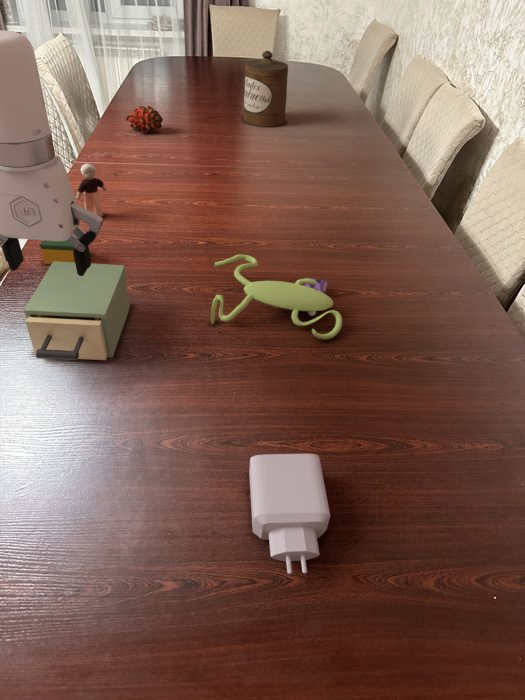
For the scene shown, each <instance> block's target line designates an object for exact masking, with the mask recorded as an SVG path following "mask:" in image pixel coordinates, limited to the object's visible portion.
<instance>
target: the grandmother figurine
mask: <svg viewBox="0 0 525 700" xmlns="http://www.w3.org/2000/svg"><path fill="white" fill-rule="evenodd" d="M80 172H81V173H80V174H81V175H82V176H83V177H84V178H85V179H83V180H82V181H81V182H80V184H79V186H78V188H77V190H76V191H77V192H76V195H75V200H81V198H82V197H81V196H82V195H83V194H84V208H85V209H87V210H89V211H91V212H93V213H95V214H96V215H98V216H100V217H102V218H103V217H104V213H103V211H102V208H101V202H100V194H99V189H98V188H100V189H101V191H102V192H106V191H107V187H106V185H105V183H104V181H102V180H101V179H100V178H97V177H95V176H96V172H97V169H96V167H95V166H94V165H93V164H91V163H87V162H86V163H84V164H83V165H81V168H80Z"/></svg>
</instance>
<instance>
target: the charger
mask: <svg viewBox="0 0 525 700" xmlns="http://www.w3.org/2000/svg"><path fill="white" fill-rule="evenodd" d="M320 458H321V457H320V456H319V454H315V453H276V454H275V453H273V454H268V453H267V454H256V455H253V456H251V457H250V459H249V470H248V471H249V473H248V477H249V490H250V491H249V493H250V507H251V524H252V525H251V526H252V533H253V534H254V535H255V536H257V537H258V538H259V539H261V540H263V541H268V543H269V554H270V558H272V559H273V560H276V561H281V562H286V563H285V564H286V571H287V575H292V574H293V568H292V562H300V564H301V572H302V574H304V575H306V574H307V573H308V568H307V561H308V560H310V559H311V560H313V559H315V558H317V557H319V556H320V550H319V549H320V548H319V543H318V539H319V538H321V536H323V534H324V533H325V532H326V531H327V530H328V527H329V523H330V519H331V513H330V512H331V511H330V506H329V502H328V501H329V500H328V496H327V490H326V484H325V481H324V475H323V474H324V473H323V469H322V463H321V459H320Z"/></svg>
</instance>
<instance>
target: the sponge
mask: <svg viewBox="0 0 525 700" xmlns="http://www.w3.org/2000/svg"><path fill="white" fill-rule="evenodd" d="M39 247H40V251H41V255H42V260H43V264H45V265H51V264H52V262H53V261H57V262H75V260H74V255H73V252H74V250H75V247H74V246H73V245H72V244H71V243H69V242H68V241H67V240H66V241H43V240H41V242H40V243H39Z"/></svg>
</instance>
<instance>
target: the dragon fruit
mask: <svg viewBox="0 0 525 700" xmlns="http://www.w3.org/2000/svg"><path fill="white" fill-rule="evenodd" d="M163 121H164V118H163V117H162V114H160V112H159V111H158V110H157V109H155V108H154V107H152V106H151V105H147V107H145V106H144V105H140V106H138V108H135V109H134V111H133V112H131V113H130V114H128V115H127V116H126V118H125V122H128V123H130V124H129V126H130V128H132V129H133V130H138V131H139V132H141V133H142V134H145V133H147V132H149V133H155V130H157V129H159V130H160V129H161V128H162V127H163V125H162V123H163Z"/></svg>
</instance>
